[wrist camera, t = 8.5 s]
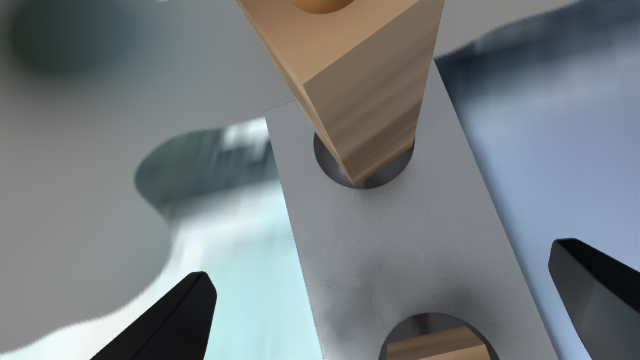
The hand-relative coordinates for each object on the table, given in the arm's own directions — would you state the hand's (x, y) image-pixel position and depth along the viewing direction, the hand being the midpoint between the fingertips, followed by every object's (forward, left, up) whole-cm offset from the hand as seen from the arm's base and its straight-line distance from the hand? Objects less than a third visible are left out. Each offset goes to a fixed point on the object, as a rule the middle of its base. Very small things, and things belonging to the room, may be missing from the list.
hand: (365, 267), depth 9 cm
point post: (+7, -1, -10) cm, 12 cm away
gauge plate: (0, -1, -10) cm, 10 cm away
